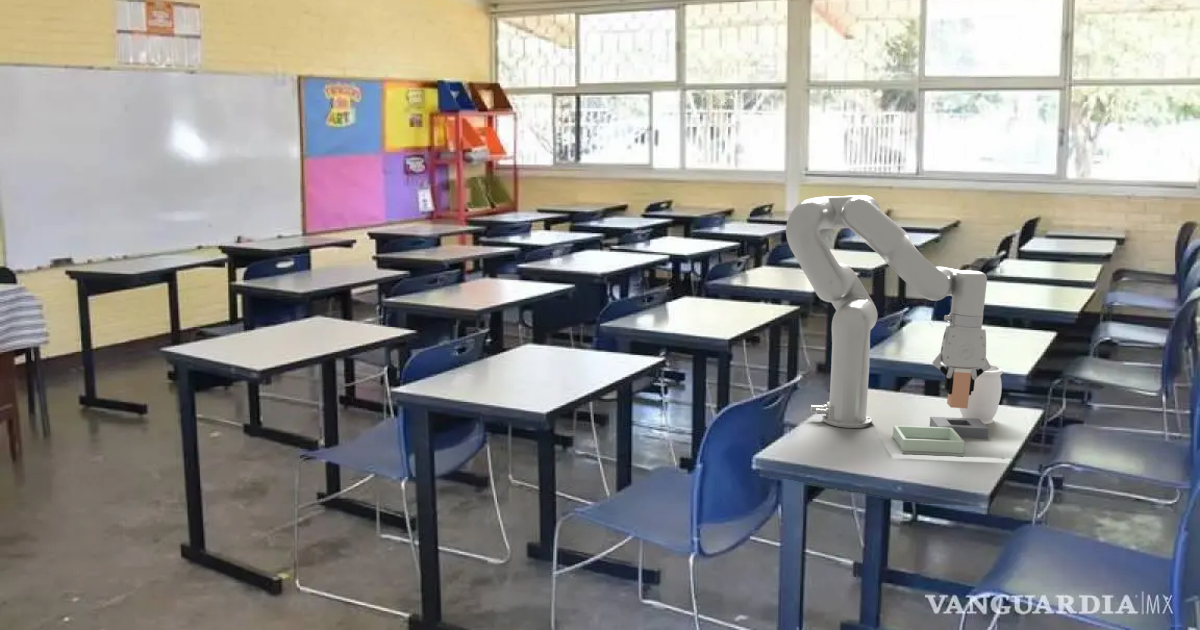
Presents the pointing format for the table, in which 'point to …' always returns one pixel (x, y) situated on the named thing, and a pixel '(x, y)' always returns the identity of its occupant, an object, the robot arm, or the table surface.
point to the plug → (960, 388)
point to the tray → (949, 445)
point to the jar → (985, 396)
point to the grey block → (962, 426)
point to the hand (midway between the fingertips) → (958, 392)
